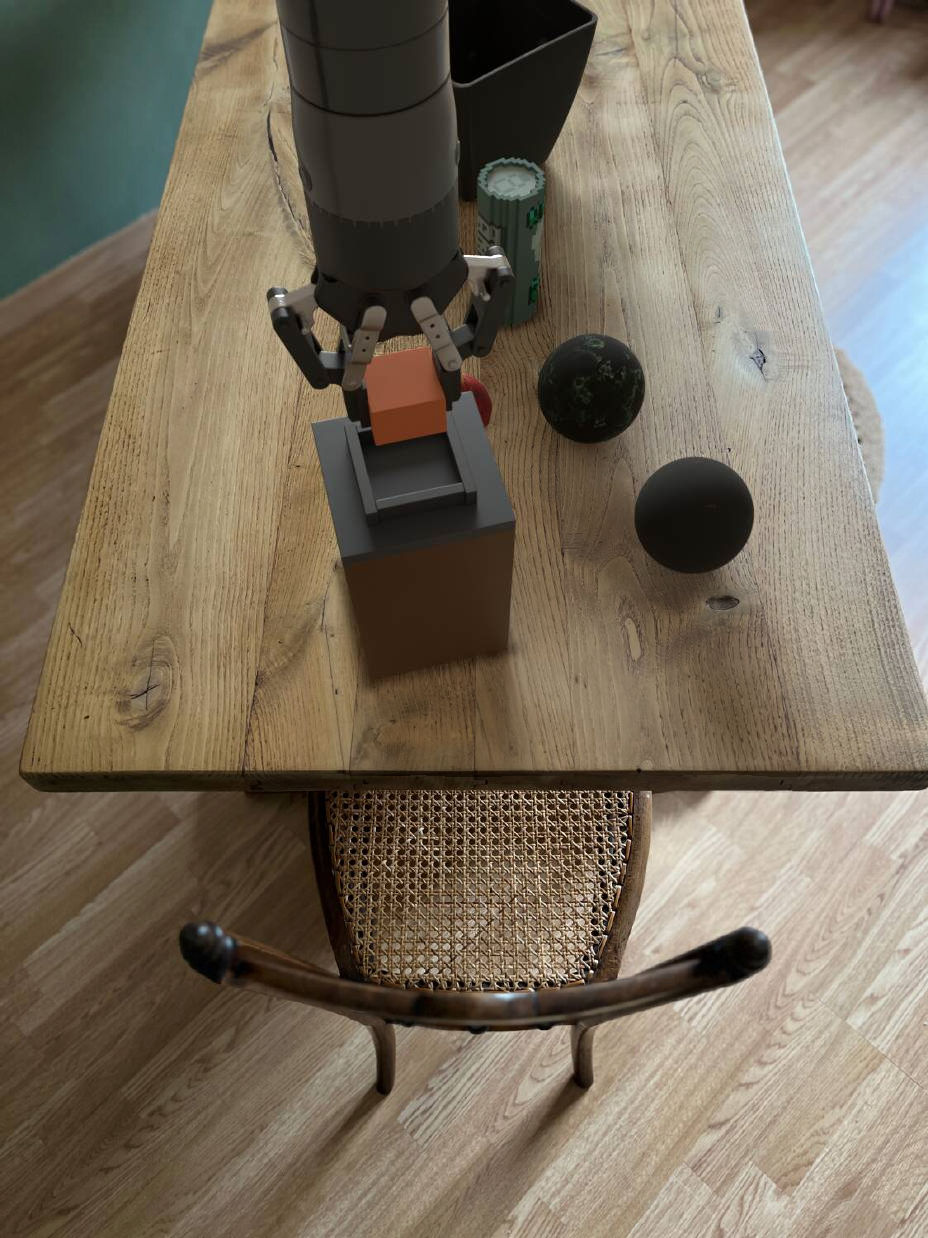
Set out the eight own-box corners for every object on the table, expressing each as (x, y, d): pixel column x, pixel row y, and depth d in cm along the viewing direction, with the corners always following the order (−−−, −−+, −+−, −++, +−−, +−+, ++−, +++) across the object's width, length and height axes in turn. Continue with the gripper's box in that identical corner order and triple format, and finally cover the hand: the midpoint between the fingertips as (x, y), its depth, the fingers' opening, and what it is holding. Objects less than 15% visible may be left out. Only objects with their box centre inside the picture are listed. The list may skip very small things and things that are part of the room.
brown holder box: (370, 681, 77) (338, 546, 59) (343, 564, 83) (307, 409, 65) (507, 649, 78) (517, 508, 61) (472, 536, 84) (472, 376, 66)
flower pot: (463, 232, 104) (460, 85, 90) (365, 152, 111) (348, 3, 97) (586, 165, 110) (603, 15, 95) (486, 92, 117) (487, -57, 102)
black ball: (753, 583, 81) (787, 518, 73) (645, 604, 80) (666, 540, 72) (715, 494, 86) (742, 422, 77) (612, 513, 85) (628, 443, 76)
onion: (502, 426, 90) (504, 367, 83) (471, 466, 88) (471, 408, 81) (452, 402, 92) (451, 343, 85) (420, 441, 90) (416, 382, 83)
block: (376, 446, 58) (371, 413, 55) (361, 392, 60) (356, 359, 57) (447, 431, 58) (445, 398, 55) (430, 379, 60) (428, 345, 58)
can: (546, 311, 98) (557, 185, 85) (497, 333, 96) (501, 208, 83) (515, 278, 101) (521, 150, 87) (467, 298, 99) (466, 171, 86)
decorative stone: (574, 371, 94) (584, 293, 85) (656, 419, 91) (675, 343, 82) (513, 430, 90) (517, 355, 81) (596, 482, 87) (610, 410, 78)
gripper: (503, 95, 46) (496, 347, 61) (219, 141, 45) (283, 388, 60) (545, 188, 43) (527, 431, 58) (239, 241, 41) (302, 478, 56)
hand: (403, 408), depth 59 cm, fingers closed on block, 4 cm apart
